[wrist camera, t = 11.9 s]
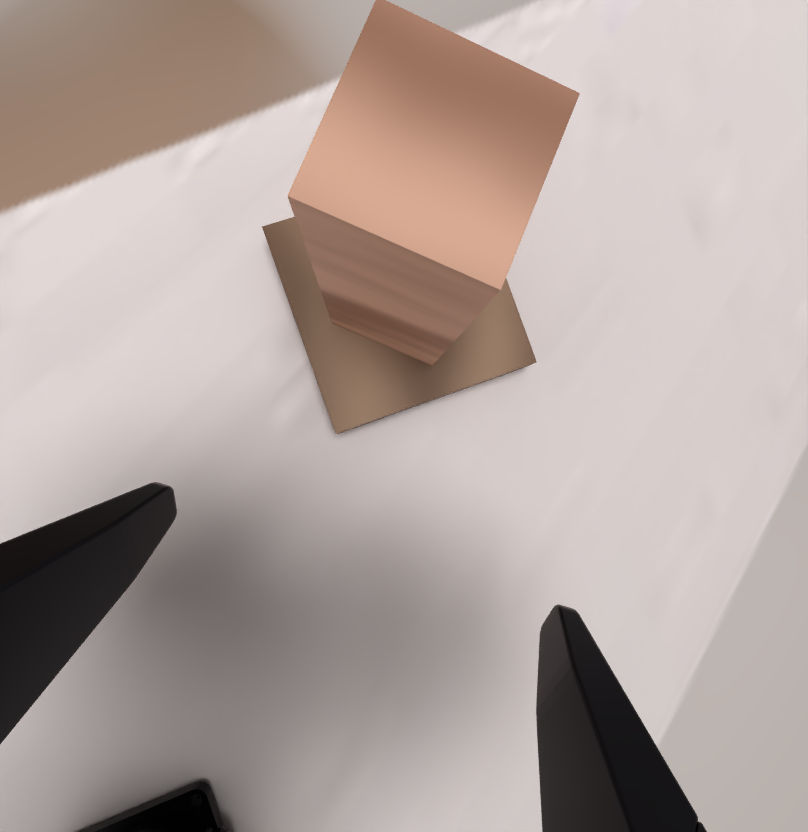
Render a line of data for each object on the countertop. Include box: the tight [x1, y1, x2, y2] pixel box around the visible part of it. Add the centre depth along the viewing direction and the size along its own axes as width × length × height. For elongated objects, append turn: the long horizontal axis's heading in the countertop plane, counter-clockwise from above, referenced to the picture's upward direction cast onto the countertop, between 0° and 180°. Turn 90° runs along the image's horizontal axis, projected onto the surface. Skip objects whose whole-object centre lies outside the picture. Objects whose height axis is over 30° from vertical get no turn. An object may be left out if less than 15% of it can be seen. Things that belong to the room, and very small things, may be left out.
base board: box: [262, 217, 536, 434], centre depth 20 cm, size 10×10×2 cm
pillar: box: [288, 0, 580, 366], centre depth 14 cm, size 5×5×10 cm
